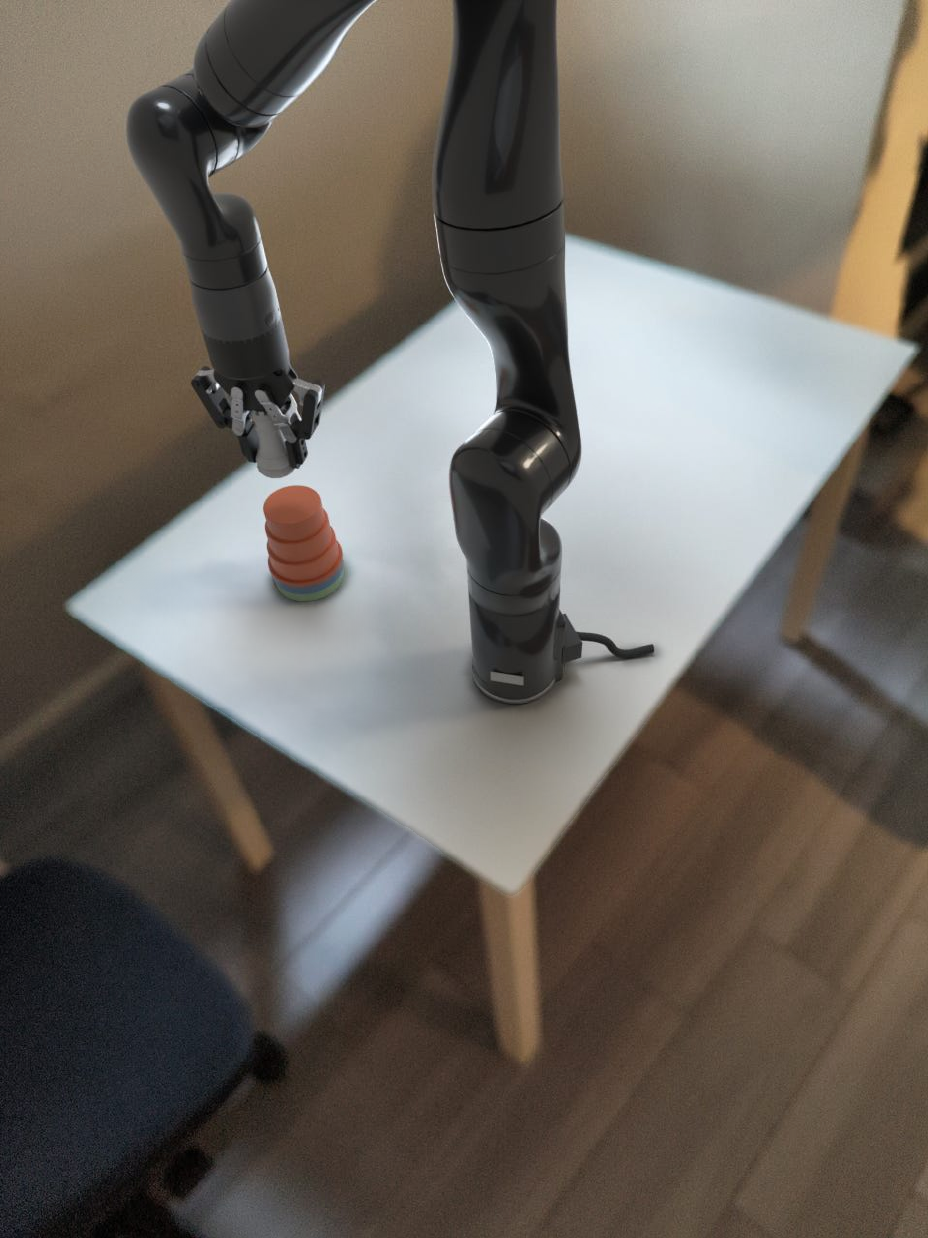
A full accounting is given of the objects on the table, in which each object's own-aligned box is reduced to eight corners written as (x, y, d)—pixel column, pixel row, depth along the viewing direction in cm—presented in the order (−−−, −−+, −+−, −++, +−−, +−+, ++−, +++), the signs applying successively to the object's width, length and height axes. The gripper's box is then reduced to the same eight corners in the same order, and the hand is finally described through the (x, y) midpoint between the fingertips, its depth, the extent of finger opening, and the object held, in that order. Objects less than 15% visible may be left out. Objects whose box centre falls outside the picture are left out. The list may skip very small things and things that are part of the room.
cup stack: (336, 542, 116) (321, 470, 108) (354, 590, 111) (340, 518, 102) (266, 561, 115) (245, 489, 106) (281, 611, 109) (260, 540, 100)
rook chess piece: (269, 485, 97) (252, 423, 91) (250, 464, 99) (233, 402, 93) (306, 469, 98) (292, 407, 92) (287, 448, 101) (272, 386, 95)
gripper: (325, 302, 86) (351, 447, 99) (188, 288, 89) (230, 431, 102) (295, 346, 81) (326, 492, 94) (152, 329, 84) (201, 474, 97)
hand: (276, 460), depth 98 cm, fingers closed on rook chess piece, 4 cm apart
